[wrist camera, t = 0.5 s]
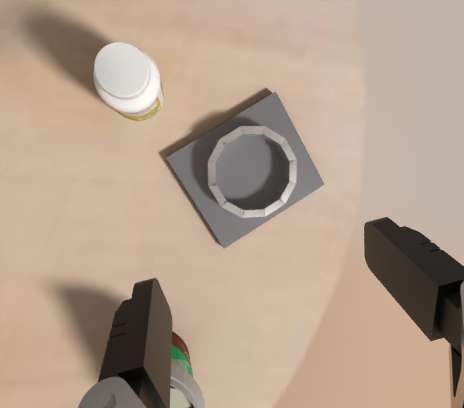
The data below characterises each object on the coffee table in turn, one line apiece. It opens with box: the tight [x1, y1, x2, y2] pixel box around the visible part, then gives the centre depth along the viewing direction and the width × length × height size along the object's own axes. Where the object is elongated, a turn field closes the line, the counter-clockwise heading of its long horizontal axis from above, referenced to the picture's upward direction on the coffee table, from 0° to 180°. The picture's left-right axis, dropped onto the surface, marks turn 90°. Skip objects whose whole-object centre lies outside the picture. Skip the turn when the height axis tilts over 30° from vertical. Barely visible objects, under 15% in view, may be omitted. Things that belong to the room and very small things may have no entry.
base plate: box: [166, 92, 324, 248], centre depth 35 cm, size 12×14×1 cm
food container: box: [170, 332, 205, 408], centre depth 33 cm, size 12×6×10 cm, turn 19°
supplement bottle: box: [94, 42, 164, 121], centre depth 28 cm, size 5×5×10 cm
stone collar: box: [206, 126, 297, 218], centre depth 34 cm, size 10×10×2 cm
